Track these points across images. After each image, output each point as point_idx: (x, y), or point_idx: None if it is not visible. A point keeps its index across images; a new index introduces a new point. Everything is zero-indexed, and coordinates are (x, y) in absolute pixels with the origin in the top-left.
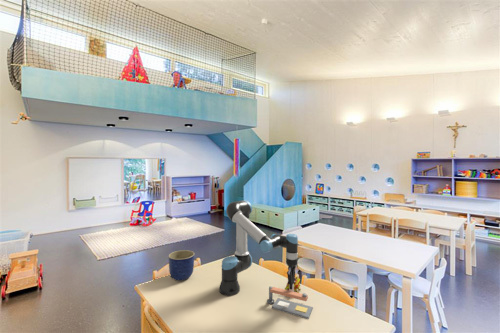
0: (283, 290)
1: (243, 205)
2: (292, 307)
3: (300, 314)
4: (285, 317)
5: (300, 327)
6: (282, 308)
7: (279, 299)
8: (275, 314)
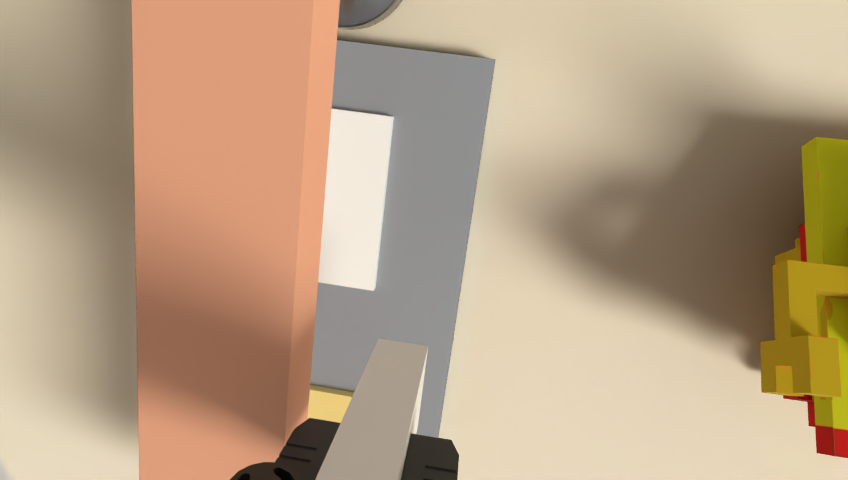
0: (233, 254)
1: None
2: None
3: None
4: (88, 267)
5: (6, 446)
6: None
7: (450, 100)
8: (83, 125)
